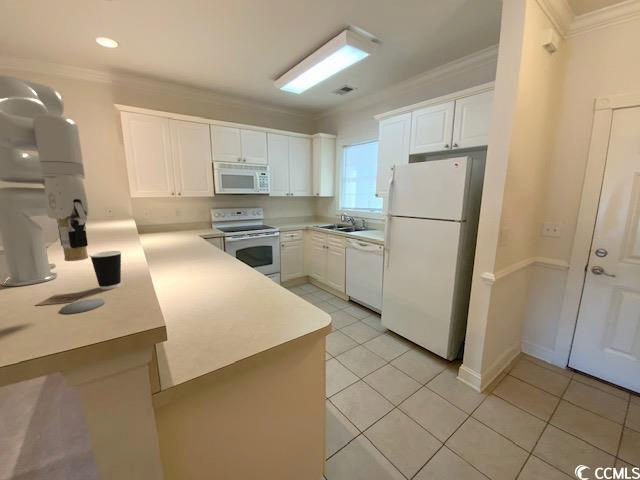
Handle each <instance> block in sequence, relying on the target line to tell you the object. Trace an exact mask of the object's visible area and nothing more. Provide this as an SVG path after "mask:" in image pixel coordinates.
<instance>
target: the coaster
mask: <svg viewBox="0 0 640 480" xmlns="http://www.w3.org/2000/svg"><path fill="white" fill-rule="evenodd" d="M104 304H105V300H104V299H102V298H89V299H83V300H78V301H74V302H71V303H68V304H67V305H66V304H65V305H64V306H62V307H61V308H60V312H61V313H62V314H64V315H65V314H69V315H71V314H78V313H83V312H89V311H92V310H95V309H97V308H100V307H102V306H104Z"/></svg>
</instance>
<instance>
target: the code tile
mask: <svg viewBox="0 0 640 480" xmlns="http://www.w3.org/2000/svg"><path fill="white" fill-rule="evenodd" d="M87 294H89V291H85V292H83V291H81V292H71V293H70V292H69V293H61V294H59V293H58V294H54V295H52V296H50V297H48V298H46V299H44V300H42V301H41V302H38V303H37V304H35V305H34V307H38V306H48V305H57V304H60V305H61V304H67V303H68V304H71V303H74V302H77V300H79V299H80V298H82V297H84V296H85V295H87Z"/></svg>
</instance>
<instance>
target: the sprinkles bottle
mask: <svg viewBox="0 0 640 480" xmlns="http://www.w3.org/2000/svg"><path fill="white" fill-rule="evenodd" d="M70 217H71V218H77V216H70ZM58 220H59V226H60V227H59V229H60V235H61V241H62V246H61V247H62V249H63V255H64V258H63V260H64V261H65V262H77V261H84V260H86V259H89V255H88V250H87V246H86V247H78V248H71V247H70V242H69V235H68V232H70V229H69V225H68V221H67V218H66V219H58ZM73 224H74V221H73ZM59 229H58V230H59ZM60 235H59V236H60ZM61 241H60V242H61Z"/></svg>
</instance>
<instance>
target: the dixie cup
mask: <svg viewBox="0 0 640 480" xmlns="http://www.w3.org/2000/svg"><path fill="white" fill-rule="evenodd" d="M122 253H123V251H122V250H108V251H107V250H106V251H99V252H95V253H91V254H89V255H88V257H90V259H91V260H90V261H91V263H92V266H93V271H94V272H95V278H96V281H97V284H98V286H99V287H100V290H111V289H117V288H118V287H120V284H121V280H122V278H121V277H122V276H121V274H122V273H121V272H122V271H121V269H122Z"/></svg>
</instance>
